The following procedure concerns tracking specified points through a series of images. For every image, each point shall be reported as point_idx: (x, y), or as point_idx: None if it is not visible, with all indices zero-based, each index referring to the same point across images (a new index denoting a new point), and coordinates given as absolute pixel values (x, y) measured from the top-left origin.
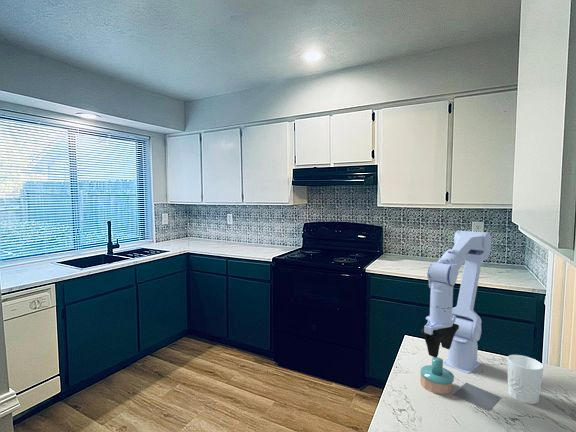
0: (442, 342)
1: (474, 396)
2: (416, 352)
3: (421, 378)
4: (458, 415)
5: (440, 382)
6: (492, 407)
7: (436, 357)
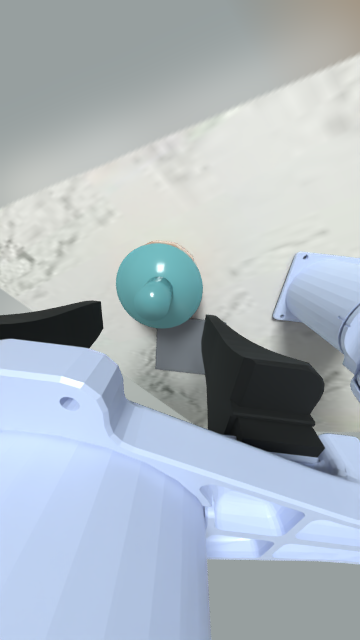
0: (208, 326)
1: (182, 345)
2: (354, 131)
3: None
4: (108, 337)
5: (126, 309)
6: (170, 370)
7: (163, 297)
